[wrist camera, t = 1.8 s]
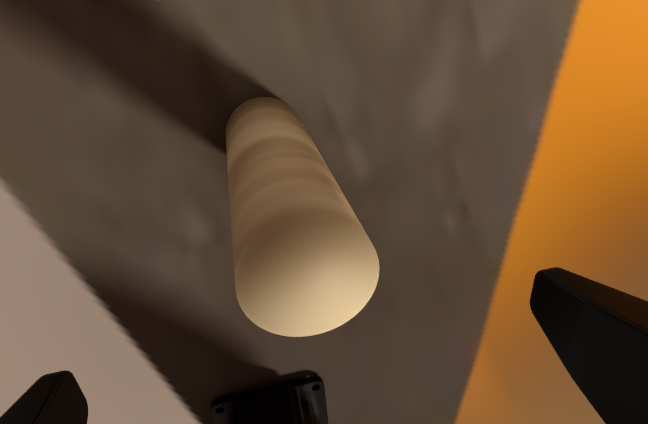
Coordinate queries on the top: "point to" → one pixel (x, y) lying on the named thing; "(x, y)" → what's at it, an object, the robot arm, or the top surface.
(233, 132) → the dowel
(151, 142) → the top surface
